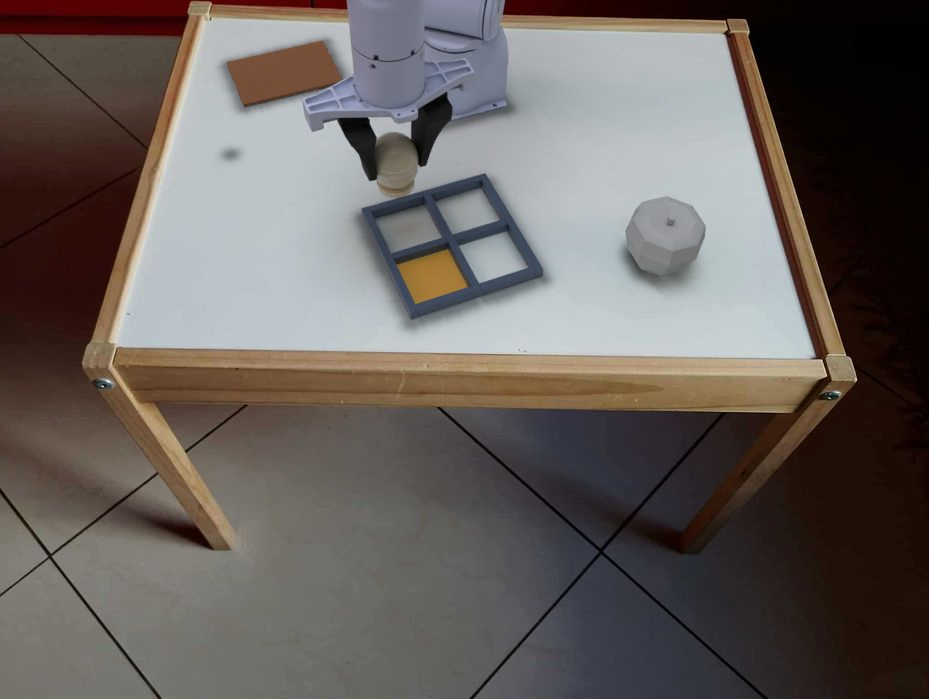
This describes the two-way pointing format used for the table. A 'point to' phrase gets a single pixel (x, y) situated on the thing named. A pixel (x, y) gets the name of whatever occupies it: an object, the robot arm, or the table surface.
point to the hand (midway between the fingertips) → (394, 166)
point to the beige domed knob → (396, 164)
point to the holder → (446, 252)
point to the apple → (664, 235)
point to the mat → (283, 73)
